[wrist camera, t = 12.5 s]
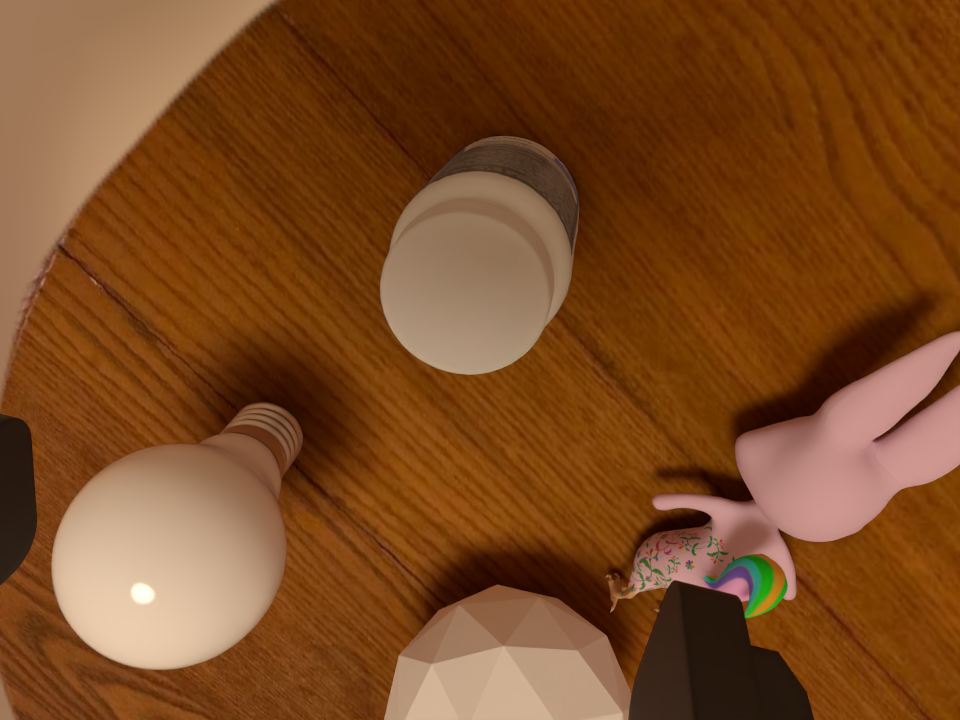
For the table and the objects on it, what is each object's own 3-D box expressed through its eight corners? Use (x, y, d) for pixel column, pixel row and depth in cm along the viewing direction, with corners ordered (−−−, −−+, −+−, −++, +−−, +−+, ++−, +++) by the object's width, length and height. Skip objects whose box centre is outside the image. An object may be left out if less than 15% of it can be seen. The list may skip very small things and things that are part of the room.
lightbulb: (381, 397, 30) (265, 599, 20) (322, 521, 32) (193, 755, 22) (223, 318, 29) (23, 484, 19) (176, 451, 32) (-21, 656, 22)
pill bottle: (428, 135, 25) (351, 194, 18) (580, 131, 25) (566, 191, 17) (439, 280, 27) (373, 389, 20) (580, 280, 27) (567, 392, 19)
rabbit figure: (702, 609, 33) (1044, 379, 25) (700, 742, 28) (1126, 510, 20) (580, 524, 32) (890, 256, 24) (555, 645, 27) (936, 361, 19)
